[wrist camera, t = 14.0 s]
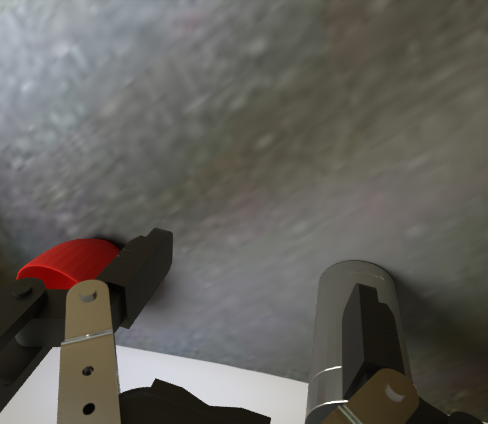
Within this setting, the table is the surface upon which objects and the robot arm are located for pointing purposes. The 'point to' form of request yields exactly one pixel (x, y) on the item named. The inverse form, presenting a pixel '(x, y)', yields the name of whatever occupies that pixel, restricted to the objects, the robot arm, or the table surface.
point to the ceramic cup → (70, 263)
